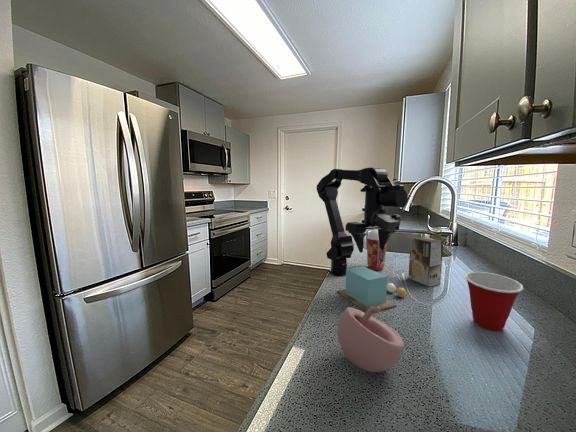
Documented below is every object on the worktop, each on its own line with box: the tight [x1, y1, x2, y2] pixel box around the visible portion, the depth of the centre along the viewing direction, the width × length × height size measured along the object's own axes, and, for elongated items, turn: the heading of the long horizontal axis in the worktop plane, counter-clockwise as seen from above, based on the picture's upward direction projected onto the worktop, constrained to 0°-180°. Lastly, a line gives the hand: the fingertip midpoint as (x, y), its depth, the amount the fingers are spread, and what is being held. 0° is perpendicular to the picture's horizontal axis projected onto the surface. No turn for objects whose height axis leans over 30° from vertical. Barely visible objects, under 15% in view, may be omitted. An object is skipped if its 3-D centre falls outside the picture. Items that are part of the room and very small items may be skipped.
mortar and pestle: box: [337, 306, 405, 373], centre depth 45 cm, size 12×12×11 cm
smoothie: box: [366, 228, 388, 271], centre depth 100 cm, size 8×8×20 cm
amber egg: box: [395, 287, 407, 298], centre depth 74 cm, size 3×3×3 cm
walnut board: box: [336, 288, 397, 313], centre depth 72 cm, size 15×10×1 cm, turn 24°
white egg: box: [386, 282, 397, 293], centre depth 77 cm, size 3×3×3 cm
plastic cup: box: [464, 271, 524, 332], centre depth 58 cm, size 11×11×12 cm
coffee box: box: [408, 236, 444, 287], centre depth 86 cm, size 9×6×16 cm
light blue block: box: [345, 265, 388, 307], centre depth 72 cm, size 10×7×8 cm
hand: (371, 251), depth 80 cm, fingers open, 9 cm apart
